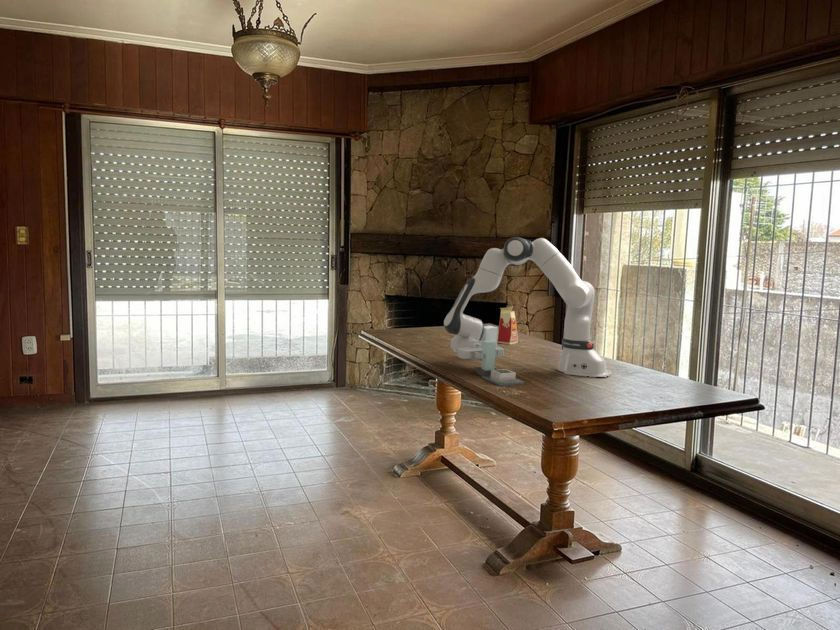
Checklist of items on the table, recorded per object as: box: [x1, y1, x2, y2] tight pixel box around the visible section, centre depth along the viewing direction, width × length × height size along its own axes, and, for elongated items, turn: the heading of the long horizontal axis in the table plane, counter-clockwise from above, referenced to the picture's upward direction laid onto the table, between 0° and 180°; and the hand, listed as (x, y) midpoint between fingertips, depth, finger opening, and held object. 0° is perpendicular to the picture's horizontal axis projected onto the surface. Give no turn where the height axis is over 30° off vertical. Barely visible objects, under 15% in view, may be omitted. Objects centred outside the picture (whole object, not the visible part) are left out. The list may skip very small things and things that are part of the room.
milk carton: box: [497, 305, 519, 345], centre depth 342 cm, size 9×9×20 cm
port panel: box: [481, 368, 525, 387], centre depth 254 cm, size 14×11×4 cm
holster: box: [475, 366, 499, 377], centre depth 264 cm, size 7×7×2 cm
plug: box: [480, 341, 496, 371], centre depth 264 cm, size 4×4×14 cm
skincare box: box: [481, 324, 499, 346], centre depth 299 cm, size 8×6×15 cm
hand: (489, 356), depth 263 cm, fingers closed on plug, 4 cm apart
